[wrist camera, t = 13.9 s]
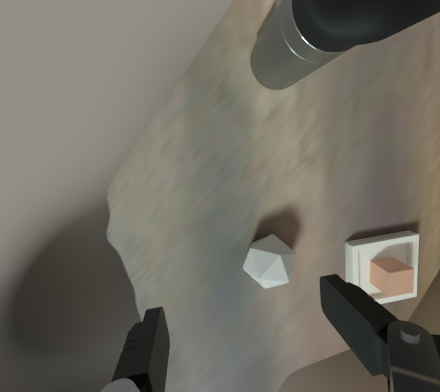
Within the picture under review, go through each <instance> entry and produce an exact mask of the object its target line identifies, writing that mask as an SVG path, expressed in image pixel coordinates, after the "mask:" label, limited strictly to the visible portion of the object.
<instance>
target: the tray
mask: <svg viewBox="0 0 440 392" xmlns="http://www.w3.org/2000/svg"><path fill="white" fill-rule="evenodd" d="M418 247H419V234H417V233H414V232H412V231H409V230H407V231H402V232H396V233H391V234H385V235H380V236H374V237H369V238H363V239H358V240H352V241H347V242H345V266H346V283H347V282H350V283H352V284H354V285H357V286H359V287H360V288H362V289H363V290H364V291H365V292H366V293H368V295H370V296H371V297H372V298H373V299H375V301H377V302H378V303H379V304H383V303H388V302H393V301H397V300H402V299H407V298H412V297H417V273H418ZM389 257H394V258H396V259H398V260H400V261H401V262H403V263H405V264H407V265H409V266H410V267H412V268H414V287H413V293H408V294H403V295H398V296H392V297H388V296H386V295H385V294H384V293H383V292H381V291H380V290H379V289H377V288H376V287H375V286H374V285H372V284H371V283H370V261H371V260H377V259H383V258H389Z"/></svg>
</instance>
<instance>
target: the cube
mask: <svg viewBox="0 0 440 392" xmlns="http://www.w3.org/2000/svg"><path fill="white" fill-rule="evenodd" d="M370 283H371V284H372V285H374V286H375V287H376V288H377V289H379V290H380V291H381V292H383V293H384V294H385V295H386V296H388V297H392V296H398V295H403V294H408V293H413V287H414V268H412V267H410V266H409V265H407V264H405V263H403V262H401V261H400V260H398V259H396V258H394V257H389V258H383V259H377V260H371V261H370Z"/></svg>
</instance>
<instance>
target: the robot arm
mask: <svg viewBox="0 0 440 392" xmlns="http://www.w3.org/2000/svg"><path fill="white" fill-rule="evenodd" d="M439 12H440V0H276V1H275V3H274V5H273V6H272V8H271V10H270V12H269V13H268V15H267V17H266V19H265V20H264V22H263V24H262V26H261V27H260V29H259V31H258V33H257V42H256V44H255V45H254V47H253V50H252V54H251V67H252V70H253V73H254V75H255V77H256V79H257V80H258V81H259V82H260V83H261V84H262V85H263V86H265V87H267V88H269V89H274V90H280V89H285V88H287V87H289V86H291V85H293V84H295V83H296V82H297V81H299V80H301V79H302V78H304V77H306V76H307V75H309V74H310V73H312V72H314V71H315V70H317V69H318V68H320V67H322V66H323V65H325V64H326V63H328V62H330V61H331V60H333V59H335V58H336V57H338V56H339V55H341V54H343V53H344V52H346V51H347V50H349V49H351V48H352V47H354V46H356V45H362V44H368V43H373V42H377V41H380V40H382V39H385V38H387V37H389V36H392V35H394V34H396V33H398V32H400V31H402V30H404V29H406V28H408V27H410V26H412V25H414V24H416V23H418V22H420V21H422V20H424V19H426V18H428V17H430V16H432V15H434V14H436V13H439ZM320 295H321V306H322V310H323V312H324V314H325V316H326V317H327V319H328V320H329V321H330V323H331V324H332V325H333V326H334V328H335V329H336V330H337V332H338V333H339V334H340V335H341V337H342V338H343V339H344V341H345V342H346V343H347V344H348V346H349V347H350V348H351V350H352V351H353V352H354V353H355V355H356V356H357V357H358V358H359V360H360V361H361V362H362V364H363V365H364V366H365V368H366V369H367V370H368V371H369V373H370V374H371V375H372V376H375V375H380V374H384V376H385V377H386V378H387V392H440V335H433V334H430V333H429V332H428V331H427V330H426V329H424V328H423V327H421V326H419V325H417V324H414V323H411V322H408V321H399V320H398V319H397V318H396V317H395V316H394V315H392V314H391V313H390V312H389V311H388V310H386V309H385V308H384V307H383V306H382V305H381V304H379V303H378V302H377V301H375V299H373V298H372V297H371V296H370V295H368V293H366V292H365V291H364V290H363V289H362V288H360V287H359V286H357V285H354V284H352V283H350V282H347V283H346V282H345V281H344V280H342V279H341V278H340V277H339V276H338V275H337V274H332V275H327V276H322V277H320ZM169 348H170V341H169V332H168V328H167V323H166V319H165V314H164V310H163V307H158V308H152V309H147V310H146V312H145V316H144V319H143V322H139V323H136V324H135V325H134V326H133V327H132V329H131V330H130V331H129V332H128V335H127V338H126V341H125V344H124V347H123V351H122V353H121V356H120V358H119V361H118V364H117V367H116V370H115V373H114V376H113V379H112V382H111V383H110V384H109V385H107V386H106V387H105V388H104V389H103V390H102V391H101V392H164V391H165V382H166V374H167V365H168V357H169Z"/></svg>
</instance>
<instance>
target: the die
mask: <svg viewBox="0 0 440 392" xmlns="http://www.w3.org/2000/svg"><path fill="white" fill-rule="evenodd" d="M295 257H296V253H295V252H294V251H293V250H292V249H290V248H289V247H288V246H287V245H286V244H284V243H283V242H282V241H281V240H280V239H279V238H277V237H276V236H275V235H274V234H271V235H269V236H267V237H265V238H262V239H260V240H258V241H255V242H253V243H251V246H250V249H249V252H248V255H247V258H246V261H245V263H244V266H243V269H244V270H245V271H246V272H247V273H248V274H249V275H250V276H251V277H253V278H254V279H255V280H256V281H257V282H258V283H259V284H260V285H261V286H263V287H264V288H269V287H273V286H277V285H281V284H284V283H288V282H289V281H290V277H291V273H292V269H293V265H294V261H295Z"/></svg>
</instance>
